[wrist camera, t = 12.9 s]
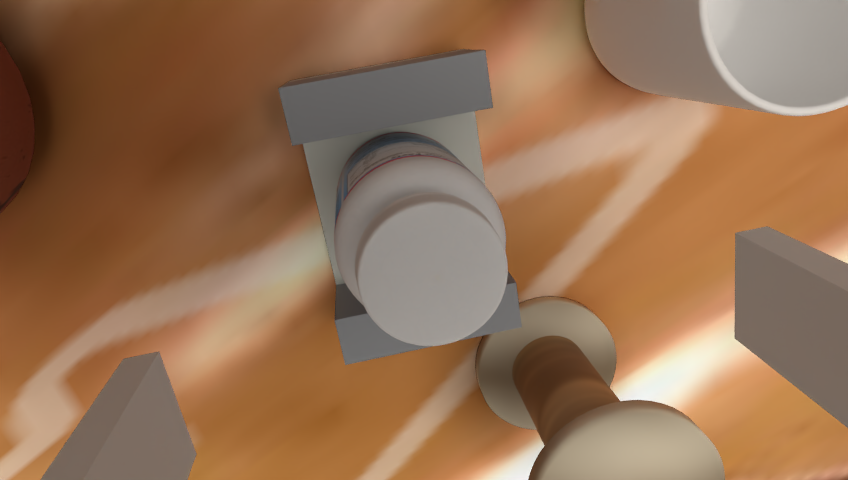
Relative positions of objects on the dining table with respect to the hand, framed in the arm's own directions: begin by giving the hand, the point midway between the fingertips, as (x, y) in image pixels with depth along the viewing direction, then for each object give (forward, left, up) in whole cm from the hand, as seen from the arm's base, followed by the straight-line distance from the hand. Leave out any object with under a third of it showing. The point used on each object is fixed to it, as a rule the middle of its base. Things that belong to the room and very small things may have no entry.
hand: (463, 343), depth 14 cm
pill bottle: (0, 0, -16) cm, 16 cm away
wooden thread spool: (+11, +6, -17) cm, 21 cm away
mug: (-7, +12, -17) cm, 22 cm away
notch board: (0, 0, -17) cm, 17 cm away
